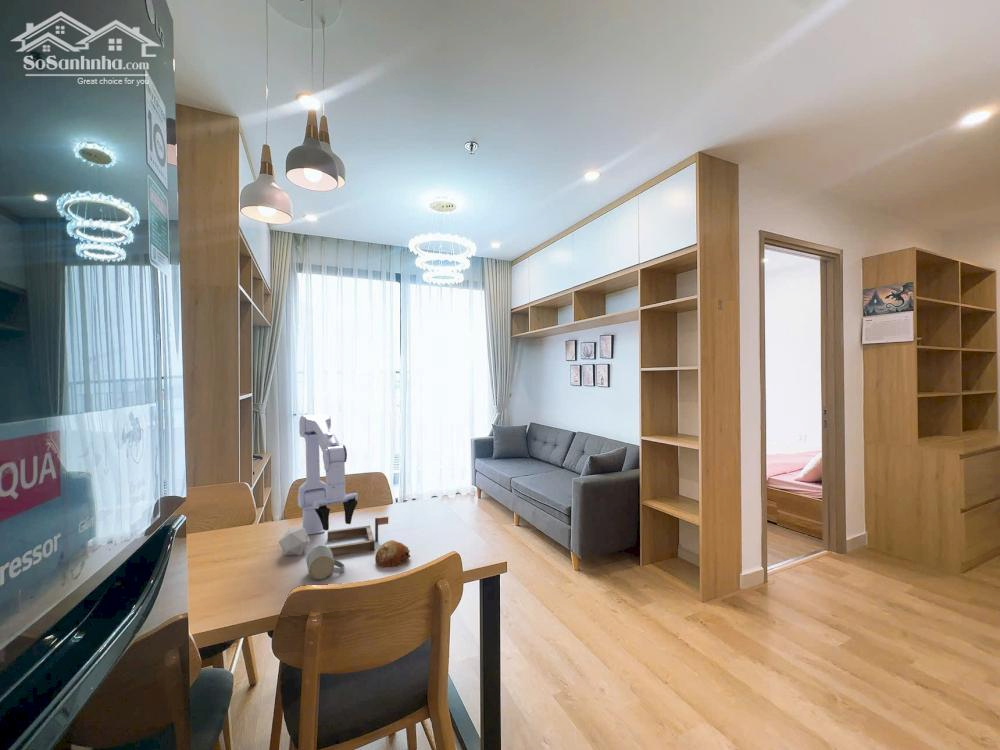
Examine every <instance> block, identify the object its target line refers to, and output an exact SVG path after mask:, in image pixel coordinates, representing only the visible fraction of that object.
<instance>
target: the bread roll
mask: <svg viewBox="0 0 1000 750" xmlns="http://www.w3.org/2000/svg"><path fill="white" fill-rule="evenodd" d="M410 552H411V551H410V549H409V546H407V545H405V544H403V543H402V542H400V541H396V540H392V539H391V540H387V541H385V542H384V543H382V545H381V546H380V547H379V548H378V550H377V551H376V553H375V555H374V556H375V558H374V559H375V560H374V561H375V563H376V565H377V566H378V567H380V568H388V569H389V568H396V567H401V566H403V565H405V564H406V563H407V562H408V560H409V559H410V558H411V555H410Z"/></svg>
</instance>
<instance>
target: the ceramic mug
mask: <svg viewBox="0 0 1000 750" xmlns="http://www.w3.org/2000/svg"><path fill="white" fill-rule="evenodd" d="M328 547H329V546H326V545H318V546H317V545H316V546H315V547H314V548H312V549H311V550H310V551H309V552H308V553H307V556H306V559H305V561H306V566H307V570H308V571H307V572H308V573H309V576H311V578H312V579H314V580H319V581H320V580H325V579H326V578H329V576H330V575H332V573H334V574H341V573H343V572H344V570H345V569H346V568H345V564H344V563H343V562H341V561H340V560H337V559H334V557H333V553H332V551H331V549H330V548H328Z"/></svg>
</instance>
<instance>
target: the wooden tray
mask: <svg viewBox="0 0 1000 750" xmlns="http://www.w3.org/2000/svg"><path fill="white" fill-rule="evenodd" d="M374 523H375V524H374V527H375V528H374V534H373V531H372V528H371V527H372V526H371V525H363V526H354V527H347V528H340V529H334V530H333V529H332V530H327V542H331V541H336V540H337V541H338V540H343V539H350V538H351V539H352V538H358V537H364V536H365V538H366V540H365V541H358V542H357V541H356V542H350V543H344V544H343V543H342V544H337V545H331V546H327V547H328V548H330V549H331V551H332V553H333V558H335V557H341V556H349V555H353V554H354V555H356V554H360V553H368V552H373V551H375V550H376V549H375V548H376V547H375V544H376V542H379V526H382V525H388V524H389V516H382V517H375V518H374ZM374 538H375V539H374Z"/></svg>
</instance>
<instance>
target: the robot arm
mask: <svg viewBox="0 0 1000 750" xmlns="http://www.w3.org/2000/svg"><path fill="white" fill-rule="evenodd" d="M298 422H299V425H298V427H299V428H298V429H299V432H298V433H299V436H300V437H302V438H304V441H305V473H306V475H305V476H306V478H305V479H306V480H305V482H303V483H302V484H301V485H299V487H298V490H297V491H298V492H297V506H298V507H299V508H300V509H302V526H301V528H305V530H306V532H307V535H308V536H309V535H315V534H322V533H326V532H325V531H330V530H329V528H330V527H329V526H330V522H329V517H330V511H331V508H330V507H329V508H328V506H333V505H336V504H341V503H342V505H343V509H344V521H345V524H347V525H351V524H352V518H353V515H354V512H355V509H356V507H357V505H358V500H359V493H358V492H351V493H347V494H346V468H345V463H346V462H347V459H348V450H347V447H346V445H345V444H340V442H339V440H338V439H337V438H338V437H336V435H335V434H334V433H332V432H331V431H330V429H331V426H332V419H331V416H330V415H329V414H328V413H325V414H307V415H304V414H303V415H301V416H300V418H299V421H298ZM320 450H321V452H322V459H323V460H322V461H323V468H324V469H323V470H324V471H325V481H326V482H324V481H322V480H321V472H320V471H321V467H320V466H321V465H320Z"/></svg>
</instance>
